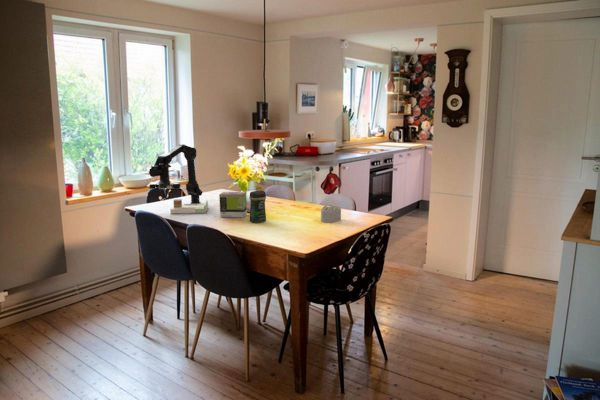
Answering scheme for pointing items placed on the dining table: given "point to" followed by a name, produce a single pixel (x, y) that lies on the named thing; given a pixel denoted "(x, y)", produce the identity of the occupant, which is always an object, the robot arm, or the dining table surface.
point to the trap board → (190, 209)
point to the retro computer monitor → (233, 204)
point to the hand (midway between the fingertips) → (165, 198)
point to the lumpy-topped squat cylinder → (330, 214)
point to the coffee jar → (257, 206)
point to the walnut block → (177, 202)
